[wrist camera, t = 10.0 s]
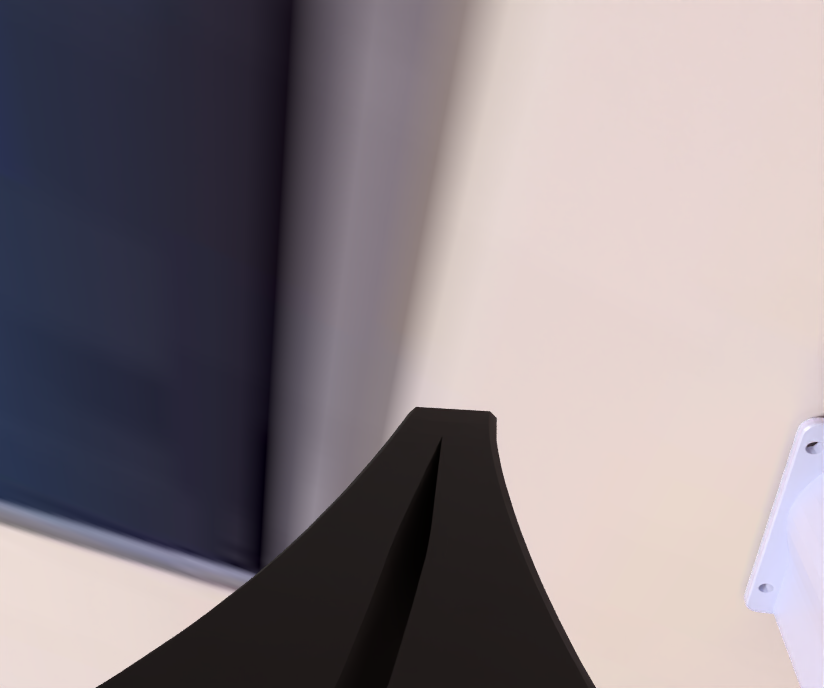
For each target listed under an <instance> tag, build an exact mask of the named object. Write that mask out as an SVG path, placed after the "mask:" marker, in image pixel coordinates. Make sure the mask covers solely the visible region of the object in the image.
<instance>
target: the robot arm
mask: <svg viewBox="0 0 824 688" xmlns="http://www.w3.org/2000/svg"><path fill="white" fill-rule="evenodd" d="M496 434H497V418H496V417H495V416H494V415H493V414H492V413H491V412H490V411H474V410H458V409H441V408H424V407H415V408H414V409H413V410H412V411H411V412H410V413H409V414H408V415H407V417H406V418H405V419H404V421H403V422H402V423H401V424H400V426H399V427H398V428H397V430H396V431H395V432H394V434H393V435H392V436H391V437H390V439H389V440H388V441H387V442H386V444H385V445H384V446H383V447H382V448H381V450H380V451H379V452H378V453H377V454H376V456H375V457H374V458H373V459H372V460H371V462H370V463H369V464H368V465H367V466H366V467H365V468H364V469H363V471H362V472H361V473H360V474H359V475H358V476H357V477H356V479H355V480H354V481H353V482H352V483H351V484H350V485H349V486H348V488H347V489H346V490H345V491H344V492H343V493H342V494H341V495H340V496H339V497H338V498H337V499H336V500H335V501H334V502H333V503H332V504H331V505H330V506H329V507H328V508H327V509H326V510H325V511H324V512H323V513H322V514H321V515H320V516H319V518H318V519H317V520H316V521H315V522H314V523H313V524H312V525H311V526H310V527H309V528H308V529H307V530H306V531H304V532H303V533H302V534H301V535H300V536H299V537H298V538H297V539H296V540H295V541H294V542H293V543H292V544H291V545H290V546H288V547H287V548H286V549H285V550H284V551H283V552H282V553H281V554H279V555H278V556H277V557H276V558H275V559H274V560H273V561H271V562H270V563H269V564H268V565H267V566H266V567H264V568H263V569H262V570H261V571H260V572H259V573H257V574H256V575H255V576H254V577H253V578H251V579H250V580H249V581H248V582H246V583H245V584H244V585H243V586H241V587H240V588H239V589H237V590H236V591H235V592H234V593H232V594H231V595H230V596H228V597H227V598H226V599H225V600H223V601H222V602H221V603H220V604H218V605H217V606H216V607H214V608H213V609H212V610H211V611H209V612H208V613H207V614H205V615H204V616H202V617H201V618H200V619H198V620H197V621H196V622H194V623H193V624H192V625H190V626H189V627H187V628H186V629H185V630H183V631H182V632H180V633H179V634H177V635H176V636H174V637H173V638H171V639H170V640H168V641H167V642H165V643H164V644H162V645H161V646H159V647H158V648H156V649H155V650H153V651H152V652H150V653H149V654H147V655H146V656H144V657H143V658H141V659H140V660H138V661H137V662H135V663H134V664H132V665H131V666H129V667H128V668H126V669H125V670H123V671H122V672H120V673H119V674H117V675H115V676H114V677H112V678H111V679H109V680H108V681H106V682H104V683H103V684H101V685H99V686H98V687H96V688H596V687H595V685H594V684H593V682H592V680H591V679H590V677H589V675H588V673H587V672H586V670H585V668H584V666H583V665H582V663H581V661H580V659H579V657H578V656H577V654H576V652H575V650H574V648H573V646H572V644H571V642H570V640H569V638H568V636H567V634H566V632H565V630H564V628H563V626H562V624H561V622H560V621H559V619H558V616H557V614H556V612H555V610H554V608H553V606H552V604H551V602H550V600H549V597H548V595H547V593H546V591H545V589H544V587H543V584H542V582H541V580H540V578H539V575H538V573H537V571H536V568H535V566H534V564H533V561H532V559H531V556H530V554H529V551H528V548H527V546H526V543H525V541H524V538H523V536H522V533H521V530H520V527H519V525H518V522H517V519H516V516H515V513H514V510H513V507H512V503H511V500H510V497H509V494H508V490H507V487H506V484H505V480H504V476H503V472H502V468H501V463H500V458H499V454H498V448H497V440H496ZM811 442H818V443H817V444H816V445H814V446H809V447H807V445H808V444H809V443H811ZM744 601H745V604H746V606H747V607H748V609H750V610H752V611H755V612H762V613H770V614H774V616H775V619H776V622H777V624H778V627H779V630H780V633H781V635H782V638H783V641H784V644H785V646H786V649H787V652H788V655H789V657H790V660H791V663H792V665H793V668H794V671H795V674H796V676H797V679H798V682H799V685H800V687H801V688H824V418H821V417H817V418H810V419H808V420H805V421H804V422H803V423H801V424H800V426H799V427H798V429H797V433H796V436H795V439H794V442H793V445H792V448H791V451H790V454H789V457H788V460H787V464H786V467H785V470H784V473H783V476H782V479H781V482H780V485H779V488H778V492H777V495H776V498H775V501H774V504H773V507H772V510H771V513H770V516H769V519H768V523H767V526H766V529H765V532H764V535H763V538H762V541H761V544H760V547H759V550H758V554H757V557H756V560H755V563H754V566H753V569H752V572H751V575H750V578H749V581H748V585H747V588H746V591H745V594H744Z"/></svg>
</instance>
